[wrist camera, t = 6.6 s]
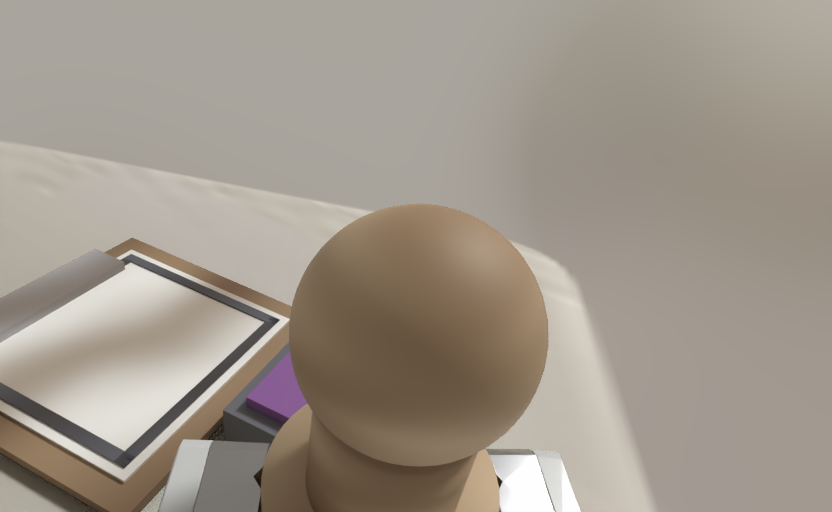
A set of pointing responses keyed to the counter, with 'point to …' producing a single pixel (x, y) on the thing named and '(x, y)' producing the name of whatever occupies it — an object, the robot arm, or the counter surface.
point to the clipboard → (125, 368)
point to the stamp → (406, 366)
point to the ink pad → (264, 403)
